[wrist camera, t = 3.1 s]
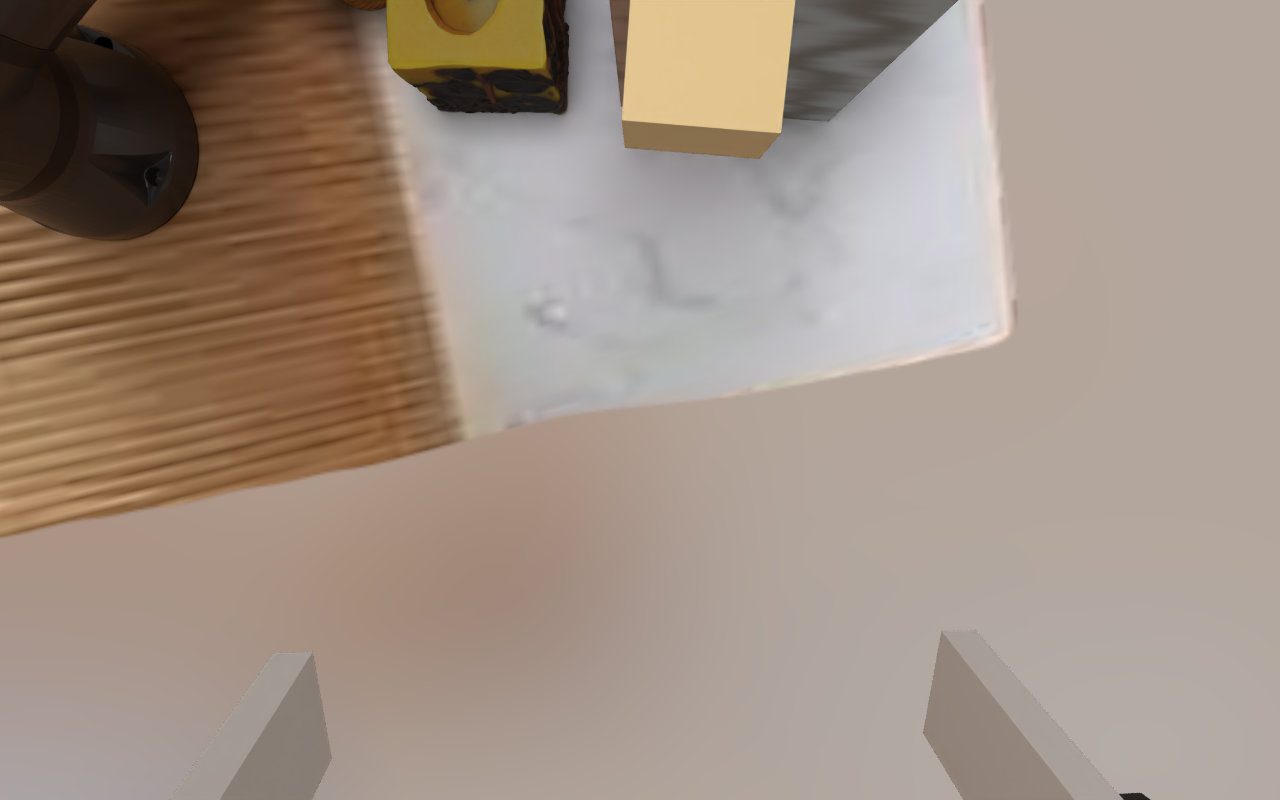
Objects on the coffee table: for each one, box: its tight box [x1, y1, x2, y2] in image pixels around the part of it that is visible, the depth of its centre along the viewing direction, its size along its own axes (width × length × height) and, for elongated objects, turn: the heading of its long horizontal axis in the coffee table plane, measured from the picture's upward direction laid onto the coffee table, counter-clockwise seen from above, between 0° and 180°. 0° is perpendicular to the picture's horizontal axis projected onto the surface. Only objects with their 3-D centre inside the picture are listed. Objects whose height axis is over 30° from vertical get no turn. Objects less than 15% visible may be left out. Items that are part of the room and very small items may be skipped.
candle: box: [386, 0, 569, 114], centre depth 43 cm, size 10×10×10 cm
